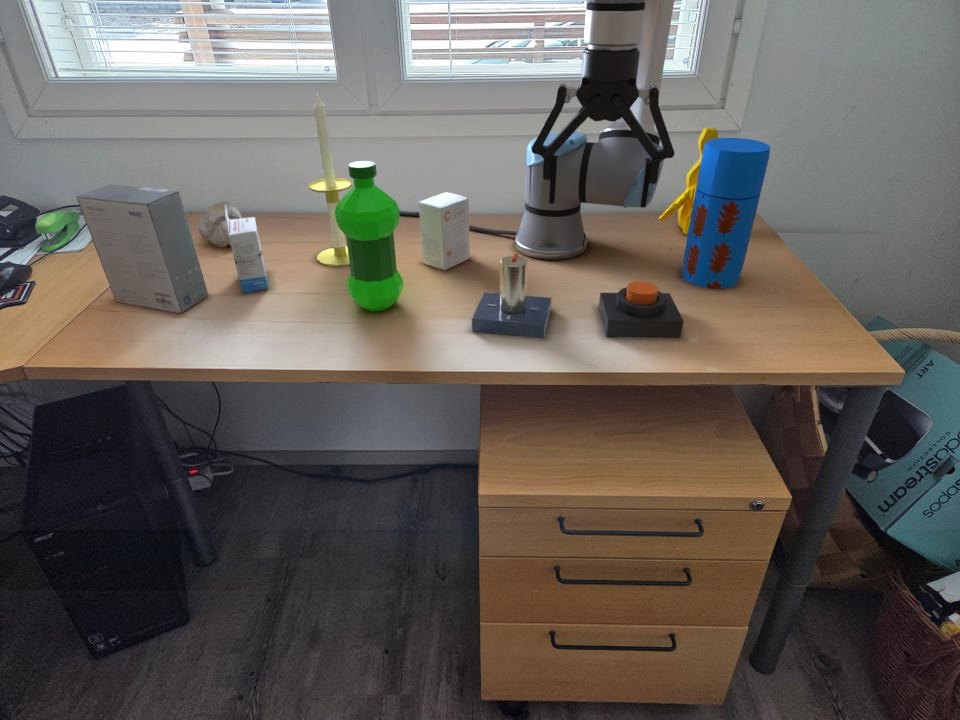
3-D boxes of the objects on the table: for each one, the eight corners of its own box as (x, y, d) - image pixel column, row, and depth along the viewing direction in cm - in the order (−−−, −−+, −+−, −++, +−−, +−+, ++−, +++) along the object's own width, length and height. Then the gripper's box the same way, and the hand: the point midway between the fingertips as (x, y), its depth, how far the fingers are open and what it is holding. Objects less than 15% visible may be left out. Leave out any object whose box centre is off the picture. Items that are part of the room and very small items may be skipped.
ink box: (269, 290, 116) (253, 214, 108) (242, 294, 115) (223, 218, 107) (266, 272, 123) (251, 200, 115) (240, 276, 122) (223, 203, 114)
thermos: (743, 291, 114) (776, 153, 100) (683, 287, 115) (708, 151, 102) (734, 268, 123) (764, 138, 109) (679, 264, 124) (702, 136, 111)
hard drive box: (210, 296, 114) (181, 190, 103) (181, 315, 108) (147, 204, 97) (145, 285, 119) (110, 182, 108) (113, 302, 113) (73, 195, 102)
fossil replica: (223, 256, 131) (261, 244, 138) (218, 218, 127) (258, 208, 134) (187, 240, 136) (225, 230, 143) (181, 203, 132) (221, 195, 139)
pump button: (628, 305, 100) (630, 294, 99) (623, 291, 104) (625, 280, 103) (659, 305, 99) (661, 294, 98) (653, 291, 104) (655, 280, 103)
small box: (448, 251, 131) (446, 191, 124) (470, 258, 128) (469, 197, 121) (421, 263, 126) (417, 201, 119) (444, 271, 123) (441, 207, 116)
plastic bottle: (360, 323, 105) (340, 176, 92) (342, 298, 113) (322, 160, 99) (414, 310, 109) (403, 167, 95) (393, 287, 117) (380, 152, 103)
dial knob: (523, 314, 102) (525, 265, 97) (497, 312, 102) (497, 263, 98) (527, 302, 105) (529, 254, 101) (502, 300, 106) (503, 252, 101)
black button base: (606, 337, 100) (609, 310, 97) (598, 308, 109) (601, 283, 106) (680, 338, 100) (685, 310, 97) (666, 309, 108) (671, 283, 105)
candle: (306, 262, 127) (277, 93, 110) (334, 245, 135) (310, 85, 117) (348, 269, 124) (324, 97, 106) (373, 251, 132) (355, 88, 114)
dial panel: (472, 331, 102) (471, 317, 101) (484, 304, 110) (484, 291, 109) (543, 338, 100) (544, 324, 99) (550, 310, 108) (551, 296, 107)
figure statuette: (658, 236, 137) (673, 134, 126) (652, 224, 144) (666, 126, 132) (739, 237, 136) (762, 134, 124) (729, 225, 143) (751, 126, 131)
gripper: (704, 44, 83) (678, 198, 95) (521, 43, 87) (518, 191, 98) (713, 50, 77) (684, 214, 88) (515, 49, 80) (512, 206, 92)
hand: (596, 202), depth 93 cm, fingers open, 13 cm apart
